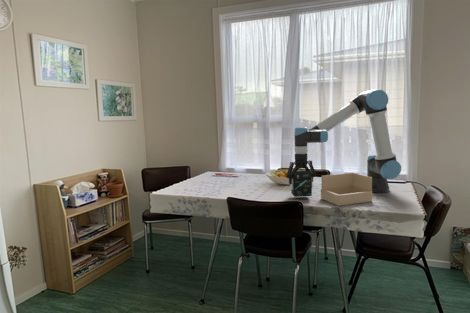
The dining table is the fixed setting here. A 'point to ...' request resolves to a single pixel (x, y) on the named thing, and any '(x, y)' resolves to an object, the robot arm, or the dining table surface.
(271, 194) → the dining table surface
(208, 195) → the dining table surface
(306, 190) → the tampon box
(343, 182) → the carton
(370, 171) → the robot arm
